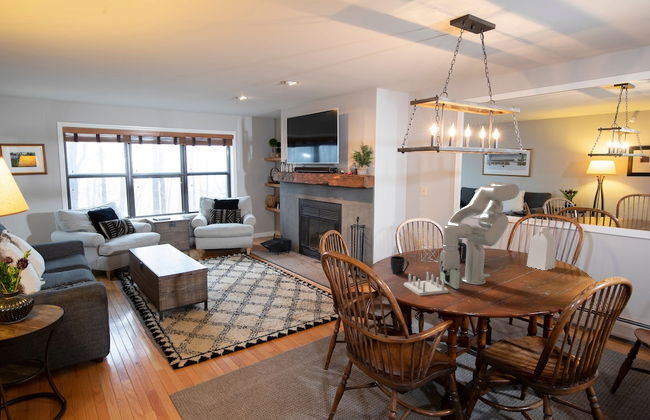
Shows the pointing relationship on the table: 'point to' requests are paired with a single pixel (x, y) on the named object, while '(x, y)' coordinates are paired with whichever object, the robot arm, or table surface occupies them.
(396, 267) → the mug
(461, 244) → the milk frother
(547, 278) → the table surface
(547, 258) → the milk
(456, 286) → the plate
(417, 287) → the dish rack
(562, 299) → the table surface
